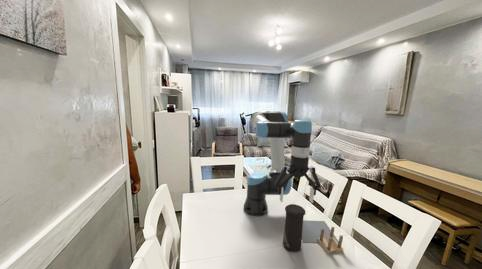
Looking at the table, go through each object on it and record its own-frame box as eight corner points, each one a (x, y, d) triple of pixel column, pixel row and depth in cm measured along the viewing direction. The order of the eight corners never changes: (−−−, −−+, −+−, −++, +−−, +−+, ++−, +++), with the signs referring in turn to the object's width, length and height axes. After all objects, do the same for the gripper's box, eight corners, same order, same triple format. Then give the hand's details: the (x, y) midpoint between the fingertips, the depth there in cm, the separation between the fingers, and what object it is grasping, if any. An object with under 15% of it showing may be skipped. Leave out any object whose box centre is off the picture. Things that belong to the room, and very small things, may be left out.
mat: (303, 243, 94) (303, 242, 94) (293, 221, 112) (293, 220, 112) (340, 244, 94) (340, 243, 94) (324, 221, 112) (324, 221, 112)
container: (287, 237, 98) (290, 200, 95) (304, 245, 93) (308, 207, 89) (279, 246, 92) (281, 207, 88) (297, 256, 86) (301, 215, 83)
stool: (327, 254, 88) (330, 240, 86) (317, 241, 95) (319, 228, 93) (342, 251, 90) (345, 237, 88) (331, 238, 97) (333, 225, 95)
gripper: (272, 157, 81) (269, 204, 84) (332, 159, 81) (327, 206, 84) (270, 152, 88) (267, 196, 92) (324, 154, 88) (320, 197, 92)
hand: (296, 201), depth 88 cm, fingers open, 13 cm apart
